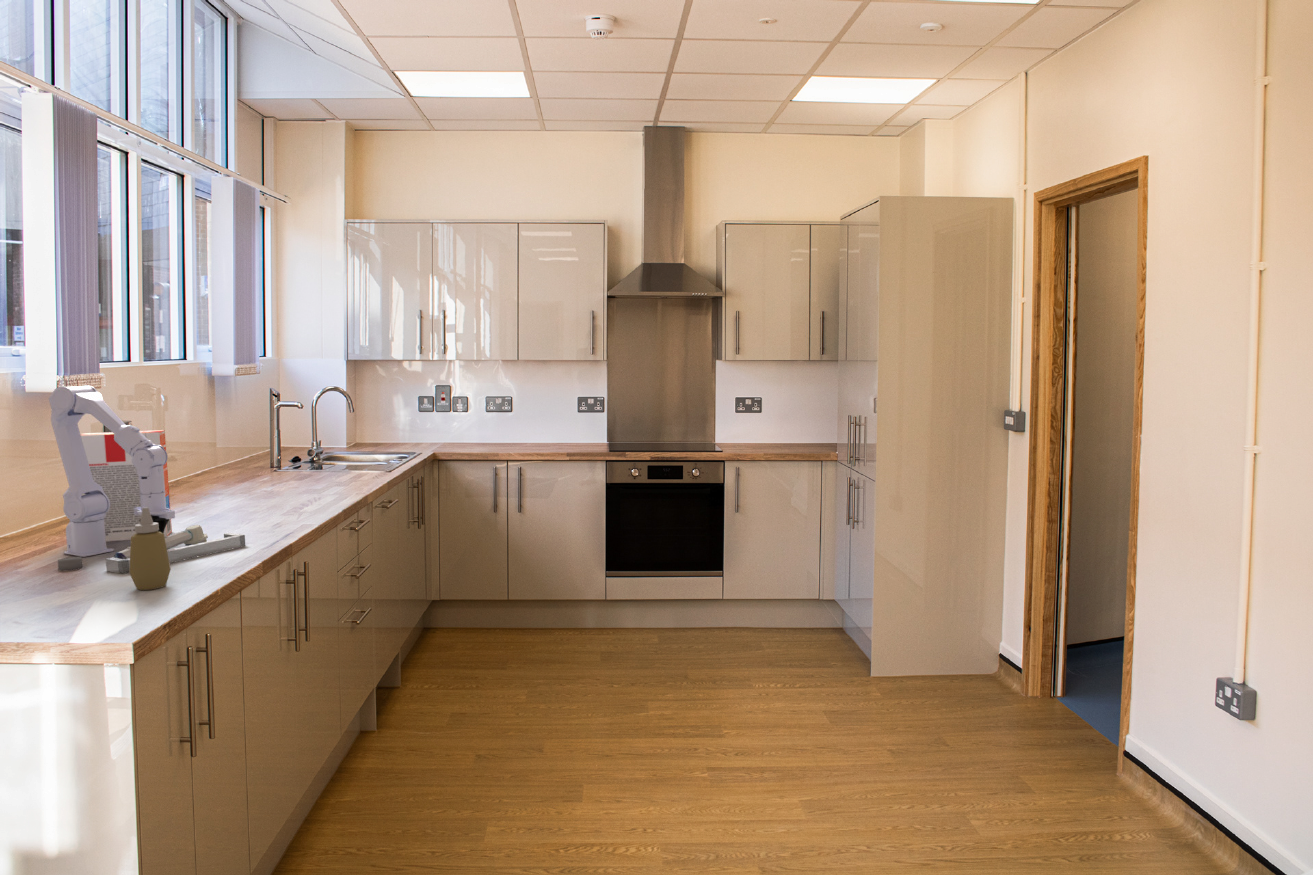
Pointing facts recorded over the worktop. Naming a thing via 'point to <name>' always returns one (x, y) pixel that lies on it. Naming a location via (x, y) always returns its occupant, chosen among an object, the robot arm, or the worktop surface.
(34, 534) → the worktop surface
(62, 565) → the smooth gray pebble
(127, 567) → the curved pull handle
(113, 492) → the pasta box
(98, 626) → the worktop surface
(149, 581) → the squeeze bottle
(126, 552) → the white handheld wand
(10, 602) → the worktop surface
